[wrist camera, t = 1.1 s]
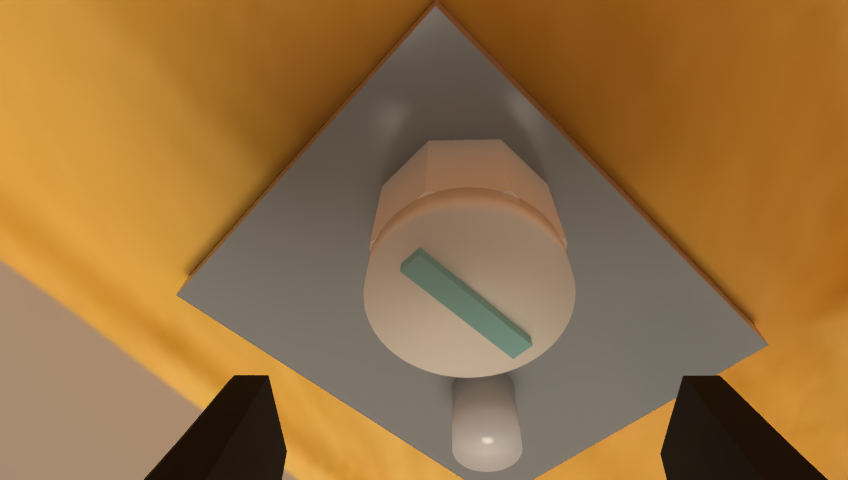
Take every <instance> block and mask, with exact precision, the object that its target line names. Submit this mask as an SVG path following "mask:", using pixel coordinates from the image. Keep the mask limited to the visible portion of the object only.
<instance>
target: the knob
mask: <svg viewBox="0 0 848 480" xmlns="http://www.w3.org/2000/svg"><path fill="white" fill-rule="evenodd" d="M566 246H567V241H566V238H565V235H564V232H563V229H562V226H561V223H560V220H559V217H558V214H557V211H556V208H555V205H554V202H553V199H552V196H551V193H550V190H549V187H548V184H547V183H546V182H545V181H544V180H543V179H542V178H541V177H539V176H538V175H537V174H536V173H535V172H534V171H533V170H532V169H531V168H530V167H529V166H528V165H527V164H526V163H525V162H524V161H523V160H522V159H521V158H520V157H519V156H518V155H517V154H515V153H514V152H513V151H512V150H511V149H510V148H509V147H508V146H507V145H506V144H505V143H504V142H503V141H502V140H501V139H483V140H429V141H428V142H427V143H426V144H425V145H424V146H423V147H422V148H421V149H419V150H418V151H417V152H416V153H415V154H414V155H413V156H412V157H411V158H410V159H409V160H408V161H407V162H406V163H405V164H404V165H403V166H402V167H401V168H400V169H399V170H398V171H397V172H396V173H395V174H394V175H393V176H392V177H391V178H390V179H389V180H388V181H387V182H386V183H385V184H384V185H383V186H382V189H381V193H380V198H379V203H378V207H377V212H376V217H375V221H374V226H373V230H372V235H371V240H370V253H371V254H370V258H369V263H368V267H367V272H366V277H365V283H364V290H363V297H364V307H365V312H366V315H367V318H368V320H369V323H370V325H371V327H372V329H373V330H374V332H375V334H376V335H377V336H378V338H379V339H380V340H381V342H382V343H383V344H384V345H385V346H386V347H387V348H388V349H389V350H390V351H392V352H393V353H394V354H395V355H397V356H398V357H399V358H401V359H403V360H404V361H406V362H407V363H409V364H411V365H413V366H415V367H418V368H420V369H423V370H425V371H428V372H431V373H435V374H439V375H444V376H451V377H463V378H473V377H485V376H492V375H497V374H501V373H505V372H508V371H511V370H514V369H516V368H519V367H521V366H523V365H525V364H527V363H529V362H531V361H532V360H534V359H536V358H537V357H539V356H540V355H541V354H543V353H544V352H545V351H547V350H548V349H549V348H550V347H551V346H552V345H553V344H554V343H555V342H556V341H557V339H558V338H559V337H560V336H561V334H562V333H563V331H564V330H565V328H566V326H567V325H568V323H569V320H570V318H571V315H572V313H573V309H574V304H575V294H576V289H575V280H574V276H573V272H572V269H571V266H570V263H569V260H568V256H567V253H566Z"/></svg>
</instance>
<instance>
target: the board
mask: <svg viewBox="0 0 848 480" xmlns="http://www.w3.org/2000/svg"><path fill="white" fill-rule="evenodd" d="M483 139H501V140H502V141H503V142H504V143H505V144H506V145H507V146H508V147H509V148H510V149H511V150H512V151H513V152H514V153H515V154H517V155H518V156H519V157H520V158H521V159H522V160H523V161H524V162H525V163H526V164H527V165H528V166H529V167H530V168H531V169H532V170H533V171H534V172H535V173H536V174H537V175H538V176H539V177H541V178H542V179H543V180H544V181H545V182H546V183H547V184H548V187H549V190H550V193H551V196H552V199H553V202H554V205H555V208H556V211H557V214H558V217H559V220H560V223H561V226H562V229H563V232H564V235H565V238H566V241H567V246H566V253H567V256H568V260H569V263H570V266H571V269H572V272H573V276H574V280H575V289H576V294H575V304H574V309H573V313H572V315H571V318H570V320H569V323H568V325H567V326H566V328H565V330H564V331H563V333H562V334H561V336H560V337H559V338H558V339H557V341H556V342H555V343H554V344H553V345H552V346H551V347H550V348H549V349H548V350H547V351H545V352H544V353H543V354H541V355H540V356H539V357H537V358H536V359H534V360H532V361H531V362H529V363H527V364H525V365H523V366H521V367H519V368H516V369H514V370H511V371H508V372H505V373H501V374H497V375H492V376H485V377H473V378H463V377H451V376H444V375H439V374H435V373H431V372H428V371H425V370H423V369H420V368H418V367H415V366H413V365H411V364H409V363H407V362H406V361H404V360H403V359H401V358H399V357H398V356H397V355H395V354H394V353H393V352H392V351H390V350H389V349H388V348H387V347H386V346H385V345H384V344H383V343H382V342H381V340H380V339H379V338H378V336H377V335H376V334H375V332H374V330H373V329H372V327H371V325H370V323H369V320H368V318H367V315H366V312H365V307H364V297H363V290H364V283H365V277H366V272H367V267H368V263H369V258H370V254H371V253H370V240H371V235H372V230H373V226H374V221H375V217H376V212H377V207H378V203H379V198H380V193H381V189H382V186H383V185H384V184H385V183H386V182H387V181H388V180H389V179H390V178H391V177H392V176H393V175H394V174H395V173H396V172H397V171H398V170H399V169H400V168H401V167H402V166H403V165H404V164H405V163H406V162H407V161H408V160H409V159H410V158H411V157H412V156H413V155H414V154H415V153H416V152H417V151H418V150H419V149H421V148H422V147H423V146H424V145H425V144H426V143H427V142H428V141H429V140H483ZM177 296H178V297H180V298H182V299H183V300H185V301H186V302H188V303H189V304H191V305H193V306H194V307H196V308H197V309H199V310H200V311H202V312H203V313H205V314H207V315H208V316H210V317H211V318H213V319H214V320H216V321H218V322H219V323H221V324H222V325H224V326H225V327H227V328H228V329H230V330H232V331H233V332H235V333H236V334H238V335H239V336H241V337H243V338H244V339H246V340H247V341H249V342H250V343H252V344H253V345H255V346H257V347H258V348H260V349H261V350H263V351H264V352H266V353H267V354H269V355H271V356H272V357H274V358H275V359H277V360H278V361H280V362H282V363H283V364H285V365H286V366H288V367H289V368H291V369H292V370H294V371H296V372H297V373H299V374H300V375H302V376H303V377H305V378H307V379H308V380H310V381H311V382H313V383H314V384H316V385H317V386H319V387H321V388H322V389H324V390H325V391H327V392H328V393H330V394H331V395H333V396H335V397H336V398H338V399H339V400H341V401H342V402H344V403H346V404H347V405H349V406H350V407H352V408H353V409H355V410H356V411H358V412H360V413H361V414H363V415H364V416H366V417H367V418H369V419H371V420H372V421H374V422H375V423H377V424H378V425H380V426H381V427H383V428H385V429H386V430H388V431H389V432H391V433H392V434H394V435H396V436H397V437H399V438H400V439H402V440H403V441H405V442H406V443H408V444H410V445H411V446H413V447H414V448H416V449H417V450H419V451H420V452H422V453H424V454H425V455H427V456H428V457H430V458H431V459H433V460H435V461H436V462H438V463H439V464H441V465H442V466H444V467H445V468H447V469H449V470H450V471H452V472H453V473H455V474H456V475H458V476H460V477H461V478H463V479H464V480H533V479H535V478H537V477H538V476H540V475H542V474H544V473H545V472H547V471H549V470H551V469H552V468H554V467H556V466H558V465H559V464H561V463H563V462H565V461H566V460H568V459H570V458H572V457H573V456H575V455H577V454H579V453H580V452H582V451H584V450H586V449H587V448H589V447H591V446H593V445H594V444H596V443H598V442H600V441H601V440H603V439H605V438H607V437H608V436H610V435H612V434H614V433H615V432H617V431H619V430H621V429H622V428H624V427H626V426H628V425H629V424H631V423H633V422H635V421H636V420H638V419H640V418H642V417H643V416H645V415H647V414H649V413H650V412H652V411H654V410H656V409H657V408H659V407H661V406H663V405H664V404H666V403H668V402H670V401H671V400H673V399H675V398H676V397H677V395H678V391H679V388H680V384H681V381H682V377H683V376H715V375H717V374H718V373H720V372H722V371H724V370H725V369H727V368H729V367H731V366H732V365H734V364H736V363H738V362H739V361H741V360H743V359H745V358H746V357H748V356H750V355H752V354H753V353H755V352H757V351H759V350H760V349H762V348H764V347H766V346H767V345H768V343H767V342H766V341H765V339H764V338H763V336H762V335H761V333H760V332H759V331H758V329H757V328H756V326H755V325H754V324H753V323H752V322H751V321H750V320H749V319H748V318H747V317H746V316H745V315H744V314H743V313H742V312H741V310H740V309H739V308H738V307H737V306H736V305H735V304H734V303H733V302H732V301H731V300H730V299H729V298H728V297H727V296H726V295H725V294H724V293H723V292H722V291H721V290H720V289H719V288H718V287H717V286H716V285H715V284H714V283H713V282H712V281H711V280H710V279H709V278H708V277H707V276H706V275H705V274H704V273H703V272H702V271H701V270H700V268H699V267H698V266H697V265H696V264H695V263H694V262H693V261H692V260H691V259H690V258H689V257H688V256H687V255H686V254H685V253H684V252H683V251H682V250H681V249H680V248H679V247H678V246H677V245H676V244H675V243H674V242H673V241H672V240H671V239H670V238H669V237H668V236H667V235H666V234H665V233H664V232H663V231H662V230H661V229H660V228H659V227H658V225H657V224H656V223H655V222H654V221H653V220H652V219H651V218H650V217H649V216H648V215H647V214H646V213H645V212H644V211H643V210H642V209H641V208H640V207H639V206H638V205H637V204H636V203H635V202H634V201H633V200H632V199H631V198H630V197H629V196H628V195H627V194H626V193H625V192H624V191H623V190H622V189H621V188H620V187H619V186H618V185H617V184H616V182H615V181H614V180H613V179H612V178H611V177H610V176H609V175H608V174H607V173H606V172H605V171H604V170H603V169H602V168H601V167H600V166H599V165H598V164H597V163H596V162H595V161H594V160H593V159H592V158H591V157H590V156H589V155H588V154H587V153H586V152H585V151H584V150H583V149H582V148H581V147H580V146H579V145H578V144H577V143H576V142H575V140H574V139H573V138H572V137H571V136H570V135H569V134H568V133H567V132H566V131H565V130H564V129H563V128H562V127H561V126H560V125H559V124H558V123H557V122H556V121H555V120H554V119H553V118H552V117H551V116H550V115H549V114H548V113H547V112H546V111H545V110H544V109H543V108H542V107H541V106H540V105H539V104H538V103H537V102H536V101H535V100H534V99H533V97H532V96H531V95H530V94H529V93H528V92H527V91H526V90H525V89H524V88H523V87H522V86H521V85H520V84H519V83H518V82H517V81H516V80H515V79H514V78H513V77H512V76H511V75H510V74H509V73H508V72H507V71H506V70H505V69H504V68H503V67H502V66H501V65H500V64H499V63H498V62H497V61H496V60H495V59H494V58H493V57H492V56H491V54H490V53H489V52H488V51H487V50H486V49H485V48H484V47H483V46H482V45H481V44H480V43H479V42H478V41H477V40H476V39H475V38H474V37H473V36H472V35H471V34H470V33H469V32H468V31H467V30H466V29H465V28H464V27H463V26H462V25H461V24H460V23H459V22H458V21H457V20H456V19H455V18H454V17H453V16H452V15H451V14H450V12H449V11H448V10H447V9H446V8H445V7H444V6H443V5H442V4H441V3H440V2H439V1H438V0H434V2H433V3H432V4H431V5H430V6H429V7H428V8H427V9H426V11H425V12H424V13H423V14H422V15H421V16H420V17H419V18H418V20H417V21H416V22H415V23H414V24H413V25H412V26H411V27H410V29H409V30H408V31H407V32H406V33H405V34H404V35H403V36H402V38H401V39H400V40H399V41H398V42H397V43H396V44H395V45H394V46H393V48H392V49H391V50H390V51H389V52H388V53H387V54H386V55H385V57H384V58H383V59H382V60H381V61H380V62H379V63H378V64H377V66H376V67H375V68H374V69H373V70H372V71H371V72H370V73H369V75H368V76H367V77H366V78H365V79H364V80H363V81H362V82H361V84H360V85H359V86H358V87H357V88H356V89H355V90H354V91H353V93H352V94H351V95H350V96H349V97H348V98H347V99H346V100H345V102H344V103H343V104H342V105H341V106H340V107H339V108H338V109H337V110H336V112H335V113H334V114H333V115H332V116H331V117H330V118H329V119H328V121H327V122H326V123H325V124H324V125H323V126H322V127H321V128H320V130H319V131H318V132H317V133H316V134H315V135H314V136H313V137H312V139H311V140H310V141H309V142H308V143H307V144H306V145H305V146H304V148H303V149H302V150H301V151H300V152H299V153H298V154H297V155H296V157H295V158H294V159H293V160H292V161H291V162H290V163H289V164H288V165H287V167H286V168H285V169H284V170H283V171H282V172H281V173H280V174H279V176H278V177H277V178H276V179H275V180H274V181H273V182H272V183H271V185H270V186H269V187H268V188H267V189H266V190H265V191H264V192H263V194H262V195H261V196H260V197H259V198H258V199H257V200H256V201H255V203H254V204H253V205H252V206H251V207H250V208H249V209H248V210H247V212H246V213H245V214H244V215H243V216H242V217H241V218H240V219H239V220H238V222H237V223H236V224H235V225H234V226H233V227H232V228H231V229H230V231H229V232H228V233H227V234H226V235H225V236H224V237H223V238H222V240H221V241H220V242H219V243H218V244H217V245H216V246H215V247H214V249H213V250H212V251H211V252H210V253H209V254H208V255H207V256H206V258H205V259H204V260H203V261H202V262H201V263H200V264H199V265H198V267H197V268H196V269H195V270H194V271H193V272H192V273H191V274H190V275H189V277H188V278H187V280H186V281H185V283H184V284H183V286H182V287H181V289H180V290H179V292H178V293H177Z"/></svg>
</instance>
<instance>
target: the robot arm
mask: <svg viewBox="0 0 848 480" xmlns="http://www.w3.org/2000/svg"><path fill="white" fill-rule="evenodd" d="M286 453H287V450H286V446H285V442H284V438H283V434H282V430H281V425H280V421H279V417H278V413H277V409H276V405H275V401H274V397H273V392H272V388H271V384H270V380H269V376H268V375H235V376H233V377H232V378H231V379H230V380H229V381H228V383H227V384H226V385H225V386H224V387H223V389H222V390H221V391H220V392H219V393H218V394H217V396H216V397H215V398H214V399H213V400H212V402H211V403H210V404H209V405H208V406H207V408H206V409H205V410H204V411H203V412H202V414H201V415H200V416H199V417H198V418H197V420H196V421H195V422H194V423H193V424H192V425H191V427H190V428H189V429H188V430H187V431H186V432H185V434H184V435H183V436H182V437H181V438H180V439H179V441H178V442H177V443H176V444H175V445H174V446H173V447H172V449H171V450H170V451H169V452H168V453H167V454H166V455H165V456H164V457H163V459H162V460H161V461H160V462H159V463H158V464H157V465H156V467H155V468H154V469H153V470H152V471H151V472H150V473H149V474H148V475H147V477H146V478H145V479H144V480H282V475H283V470H284V464H285V459H286ZM661 458H662V462H663V466H664V470H665V474H666V478H667V480H828V479H827V478H825V477H824V476H823V475H822V474H821V473H820V472H819V471H818V470H817V469H816V468H815V467H814V466H813V465H811V464H810V463H809V462H808V461H807V460H806V459H805V458H804V457H803V456H802V455H801V454H800V453H799V452H798V451H797V450H796V449H795V448H794V447H792V446H791V445H790V444H789V443H788V442H787V441H786V440H785V439H784V438H783V437H782V436H781V435H780V434H779V433H778V432H777V431H776V430H775V429H774V428H773V427H772V426H771V425H770V424H769V423H768V422H767V421H766V420H765V419H764V418H763V417H762V416H761V415H760V414H759V413H758V412H756V411H755V410H754V409H753V408H752V407H751V406H750V405H749V404H748V403H747V402H746V401H745V400H744V399H743V398H742V397H741V396H740V395H739V394H738V393H737V392H736V391H735V390H734V389H733V388H732V387H731V386H730V385H729V384H728V383H727V382H726V381H725V380H724V379H723V378H722V377H720V376H683V377H682V381H681V384H680V388H679V391H678V395H677V398H676V402H675V405H674V409H673V412H672V416H671V419H670V422H669V426H668V429H667V433H666V436H665V440H664V443H663V447H662V450H661Z"/></svg>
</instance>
